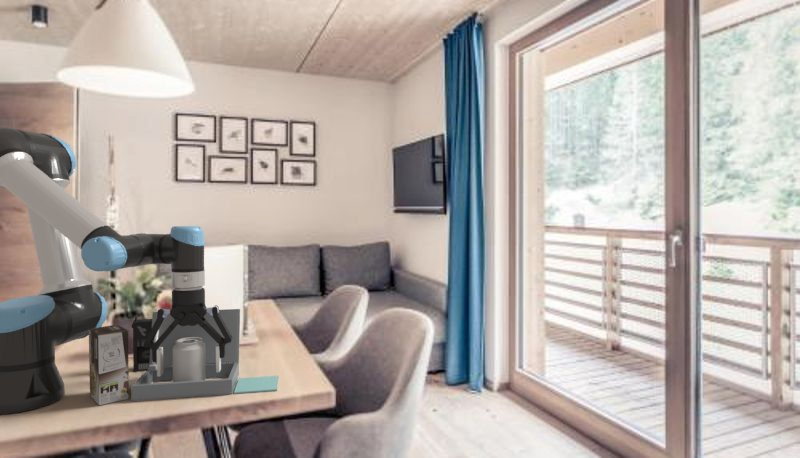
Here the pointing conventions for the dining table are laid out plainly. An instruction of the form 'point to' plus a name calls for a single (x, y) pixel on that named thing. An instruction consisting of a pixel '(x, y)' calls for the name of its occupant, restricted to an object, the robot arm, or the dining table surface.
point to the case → (205, 387)
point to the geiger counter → (141, 344)
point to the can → (188, 359)
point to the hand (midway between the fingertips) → (189, 372)
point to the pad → (256, 384)
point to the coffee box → (108, 364)
